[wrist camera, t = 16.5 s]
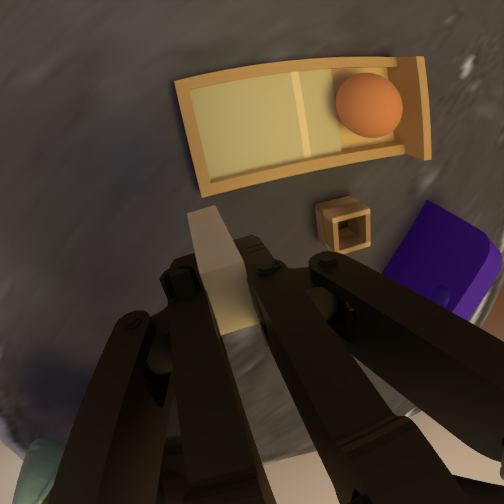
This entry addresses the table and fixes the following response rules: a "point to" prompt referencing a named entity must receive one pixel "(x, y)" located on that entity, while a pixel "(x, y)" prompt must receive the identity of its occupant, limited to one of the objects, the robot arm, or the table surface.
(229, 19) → the table surface
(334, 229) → the open wooden box
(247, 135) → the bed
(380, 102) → the ball
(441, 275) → the bracket
